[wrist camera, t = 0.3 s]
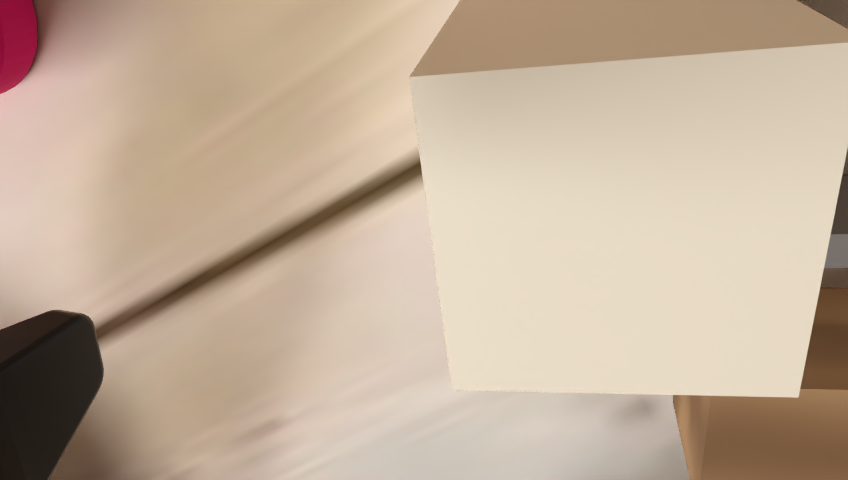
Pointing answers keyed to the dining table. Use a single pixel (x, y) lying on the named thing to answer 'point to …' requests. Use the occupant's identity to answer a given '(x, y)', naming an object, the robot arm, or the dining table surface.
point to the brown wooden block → (778, 416)
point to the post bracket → (633, 191)
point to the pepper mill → (16, 41)
